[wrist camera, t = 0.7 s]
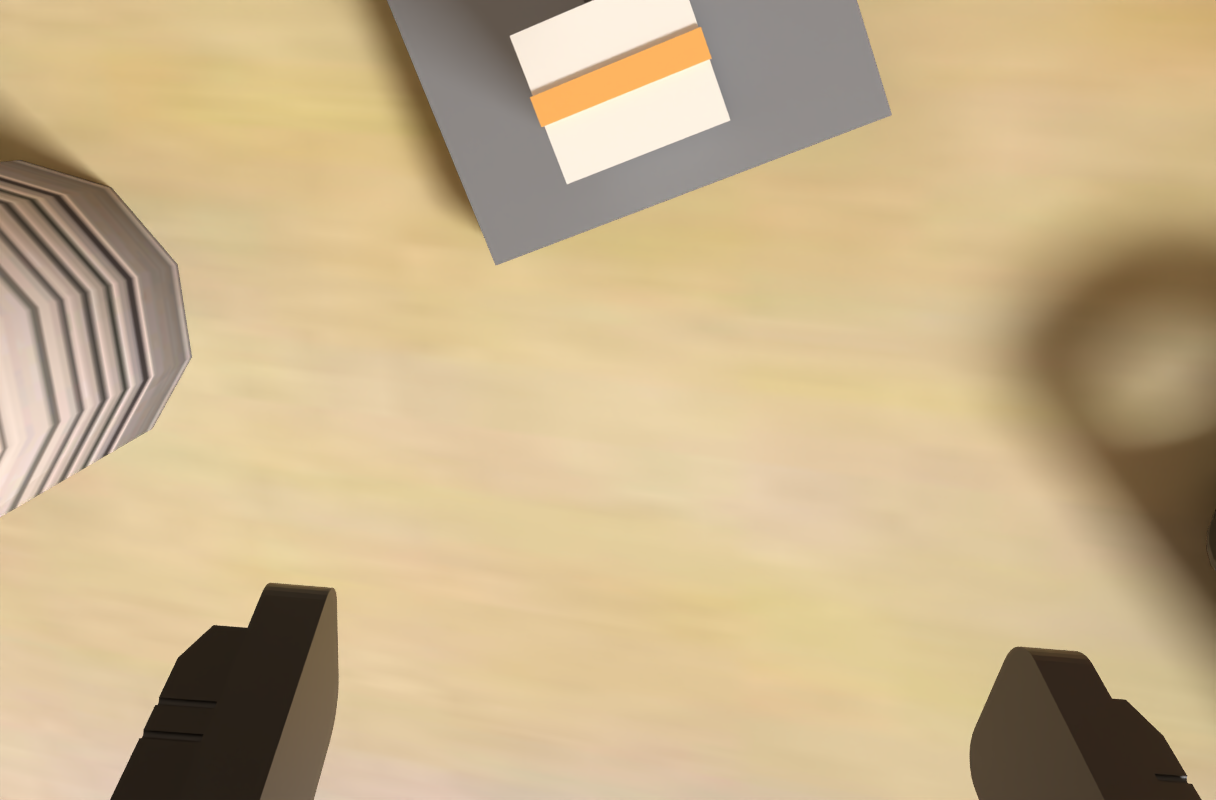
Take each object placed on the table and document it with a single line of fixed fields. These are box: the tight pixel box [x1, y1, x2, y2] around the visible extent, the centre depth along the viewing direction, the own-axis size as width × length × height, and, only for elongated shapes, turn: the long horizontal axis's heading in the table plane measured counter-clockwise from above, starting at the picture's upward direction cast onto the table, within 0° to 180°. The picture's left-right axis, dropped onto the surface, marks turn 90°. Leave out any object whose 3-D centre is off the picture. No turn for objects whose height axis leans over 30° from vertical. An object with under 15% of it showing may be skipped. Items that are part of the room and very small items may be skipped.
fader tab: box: [510, 0, 730, 184], centre depth 27 cm, size 4×4×8 cm
